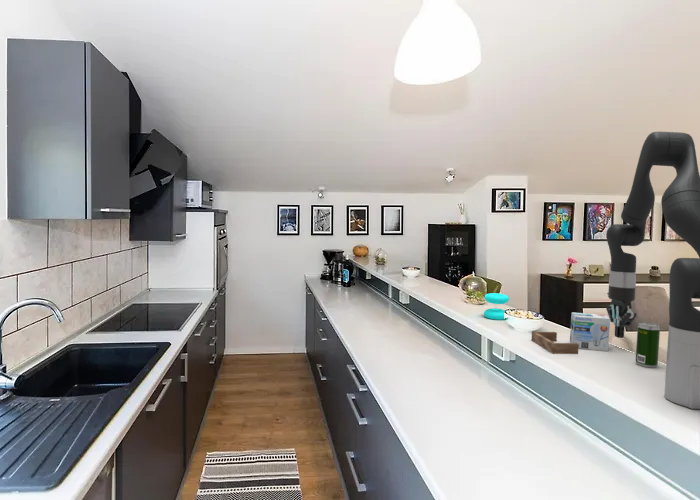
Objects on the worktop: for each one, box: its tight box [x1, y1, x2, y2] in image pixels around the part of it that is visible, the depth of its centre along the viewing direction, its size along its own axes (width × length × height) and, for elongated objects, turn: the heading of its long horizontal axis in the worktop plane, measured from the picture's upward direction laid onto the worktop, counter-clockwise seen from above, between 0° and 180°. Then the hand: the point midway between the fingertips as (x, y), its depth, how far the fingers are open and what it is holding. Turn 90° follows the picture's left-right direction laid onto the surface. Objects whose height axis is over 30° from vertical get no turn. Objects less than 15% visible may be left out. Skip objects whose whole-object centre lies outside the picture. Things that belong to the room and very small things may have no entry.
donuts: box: [483, 292, 510, 321], centre depth 189 cm, size 10×10×10 cm
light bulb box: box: [569, 312, 611, 352], centre depth 146 cm, size 11×7×11 cm, turn 73°
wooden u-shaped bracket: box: [530, 331, 580, 355], centre depth 146 cm, size 15×8×3 cm, turn 1°
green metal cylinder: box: [635, 322, 661, 369], centre depth 128 cm, size 5×5×12 cm
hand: (619, 337), depth 146 cm, fingers closed
